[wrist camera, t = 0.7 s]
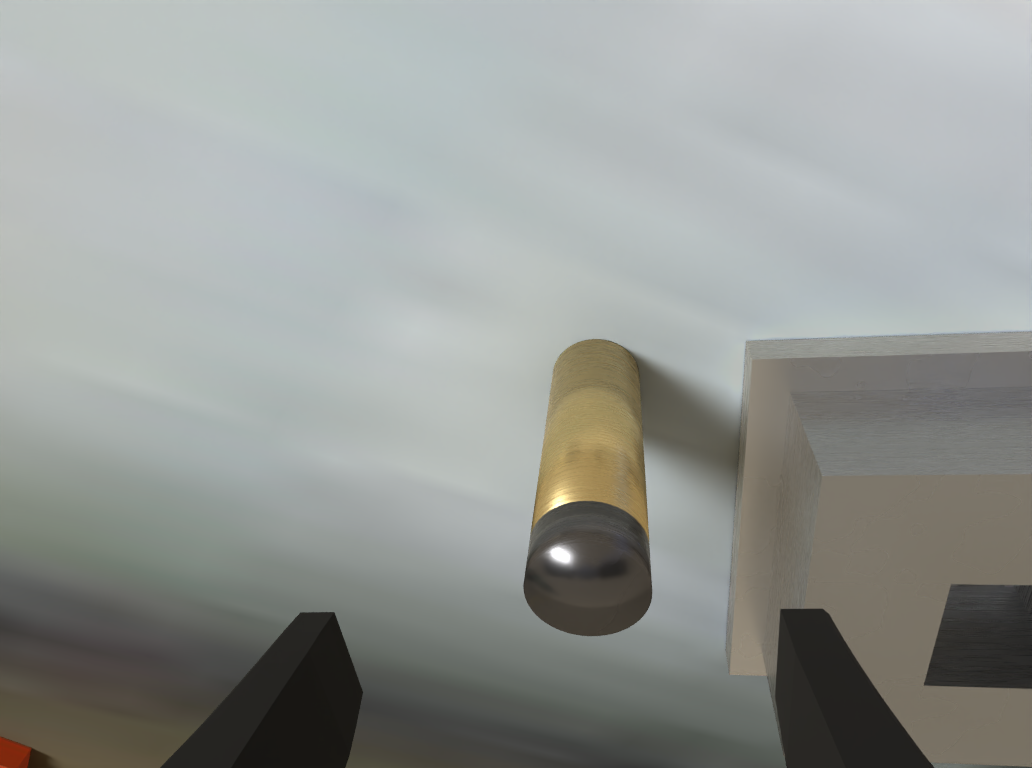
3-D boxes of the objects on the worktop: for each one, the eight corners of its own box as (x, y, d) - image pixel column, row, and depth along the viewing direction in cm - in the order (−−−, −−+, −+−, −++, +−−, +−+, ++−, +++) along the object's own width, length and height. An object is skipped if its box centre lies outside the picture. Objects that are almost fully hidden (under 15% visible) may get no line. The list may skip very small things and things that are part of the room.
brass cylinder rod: (638, 337, 20) (651, 543, 13) (639, 413, 21) (652, 637, 14) (549, 340, 20) (517, 543, 14) (555, 414, 22) (529, 634, 15)
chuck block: (1260, 324, 18) (1435, 428, 14) (1109, 659, 24) (1203, 796, 20) (746, 341, 20) (777, 438, 16) (725, 650, 26) (745, 775, 22)
